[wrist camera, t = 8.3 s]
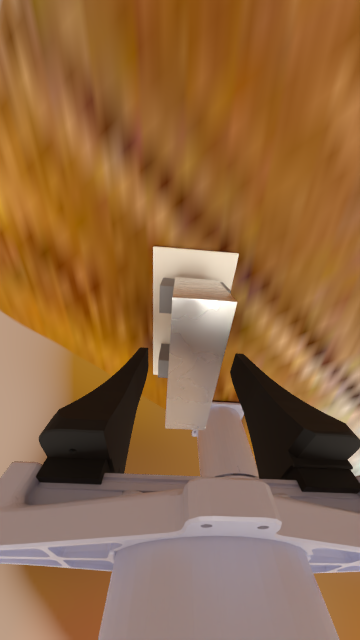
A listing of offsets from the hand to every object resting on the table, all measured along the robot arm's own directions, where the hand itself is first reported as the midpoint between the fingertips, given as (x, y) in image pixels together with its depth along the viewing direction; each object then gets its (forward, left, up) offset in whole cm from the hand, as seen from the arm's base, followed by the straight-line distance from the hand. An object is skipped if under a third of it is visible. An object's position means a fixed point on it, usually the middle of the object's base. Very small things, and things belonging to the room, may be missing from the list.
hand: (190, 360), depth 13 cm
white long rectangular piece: (0, 0, -3) cm, 3 cm away
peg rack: (0, 0, -7) cm, 7 cm away
